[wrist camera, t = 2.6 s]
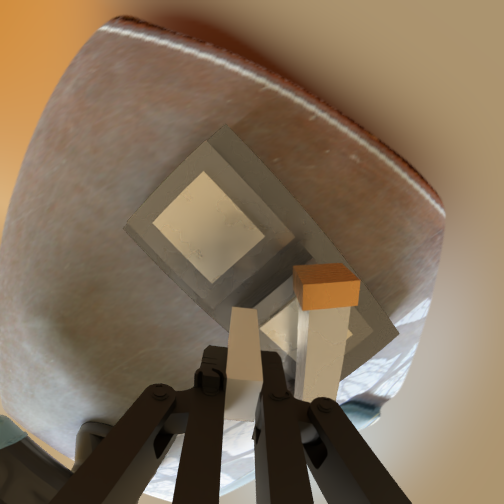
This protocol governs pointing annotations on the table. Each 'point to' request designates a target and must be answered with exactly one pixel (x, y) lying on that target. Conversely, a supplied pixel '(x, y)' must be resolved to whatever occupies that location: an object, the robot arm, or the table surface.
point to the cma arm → (322, 326)
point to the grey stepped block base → (246, 248)
